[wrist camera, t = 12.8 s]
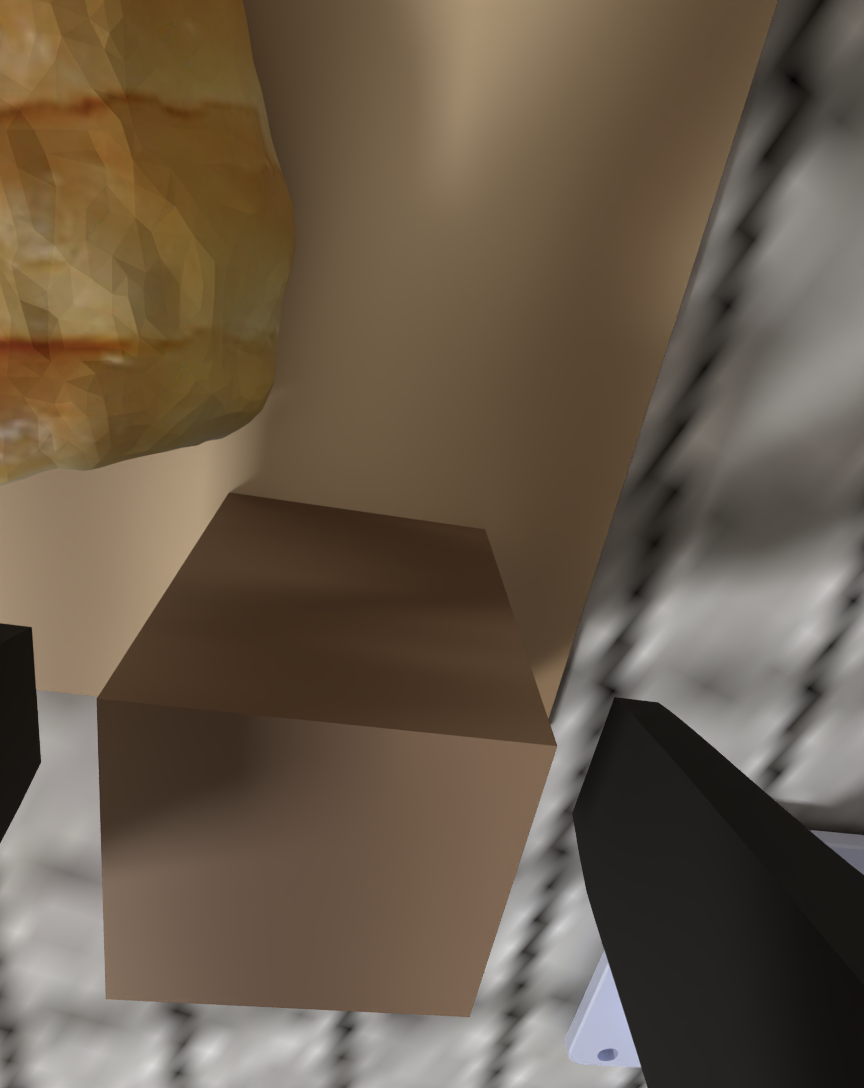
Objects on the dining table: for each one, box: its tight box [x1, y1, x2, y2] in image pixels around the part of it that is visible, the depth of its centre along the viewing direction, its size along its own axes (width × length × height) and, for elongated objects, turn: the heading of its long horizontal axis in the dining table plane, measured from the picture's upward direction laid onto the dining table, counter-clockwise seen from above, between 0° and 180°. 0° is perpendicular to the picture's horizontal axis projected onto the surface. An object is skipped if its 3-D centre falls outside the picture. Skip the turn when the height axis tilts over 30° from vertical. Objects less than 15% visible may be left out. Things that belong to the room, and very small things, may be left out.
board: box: [0, 0, 778, 719], centre depth 8 cm, size 15×12×3 cm
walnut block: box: [97, 492, 557, 1017], centre depth 9 cm, size 4×4×5 cm
